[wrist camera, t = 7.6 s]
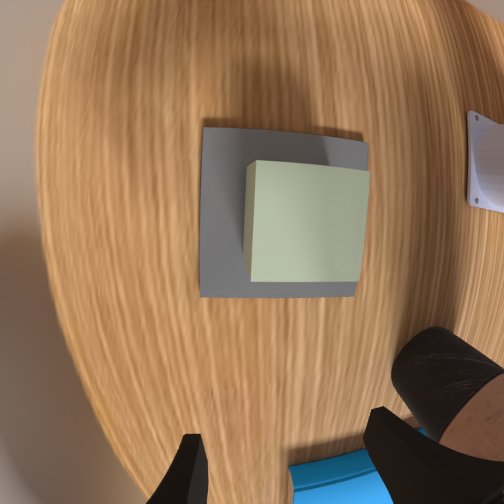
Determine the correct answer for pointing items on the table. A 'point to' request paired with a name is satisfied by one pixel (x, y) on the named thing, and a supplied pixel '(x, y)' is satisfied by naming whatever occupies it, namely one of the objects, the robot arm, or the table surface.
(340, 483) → the book
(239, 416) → the table surface
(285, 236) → the cube
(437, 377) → the travel mug
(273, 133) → the coaster
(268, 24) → the table surface
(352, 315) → the table surface
